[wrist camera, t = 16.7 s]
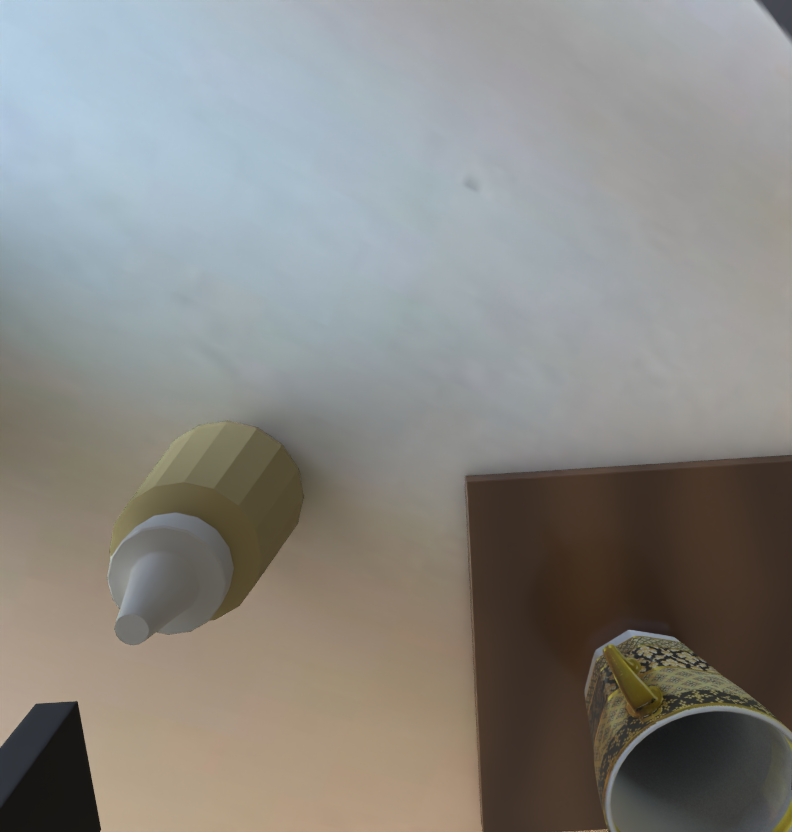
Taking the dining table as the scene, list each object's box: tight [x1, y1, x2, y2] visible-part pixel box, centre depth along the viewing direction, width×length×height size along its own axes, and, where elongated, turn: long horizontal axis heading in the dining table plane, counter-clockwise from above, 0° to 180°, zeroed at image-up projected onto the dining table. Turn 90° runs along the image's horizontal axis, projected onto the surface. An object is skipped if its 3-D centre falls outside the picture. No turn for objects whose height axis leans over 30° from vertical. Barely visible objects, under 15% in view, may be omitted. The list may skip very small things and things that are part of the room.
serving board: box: [465, 455, 792, 832], centre depth 44 cm, size 20×24×1 cm
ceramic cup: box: [585, 630, 792, 832], centre depth 38 cm, size 13×10×10 cm
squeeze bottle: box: [107, 421, 304, 645], centre depth 33 cm, size 8×8×18 cm
